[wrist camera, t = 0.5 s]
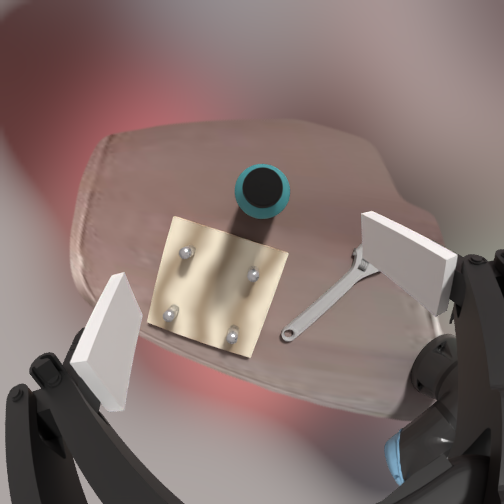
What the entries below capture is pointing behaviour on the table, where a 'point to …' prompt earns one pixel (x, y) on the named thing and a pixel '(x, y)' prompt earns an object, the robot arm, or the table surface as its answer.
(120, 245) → the table surface
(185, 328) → the birch board
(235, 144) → the table surface
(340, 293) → the adjustable wrench
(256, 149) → the table surface
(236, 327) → the steel pegs
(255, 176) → the beverage bottle
